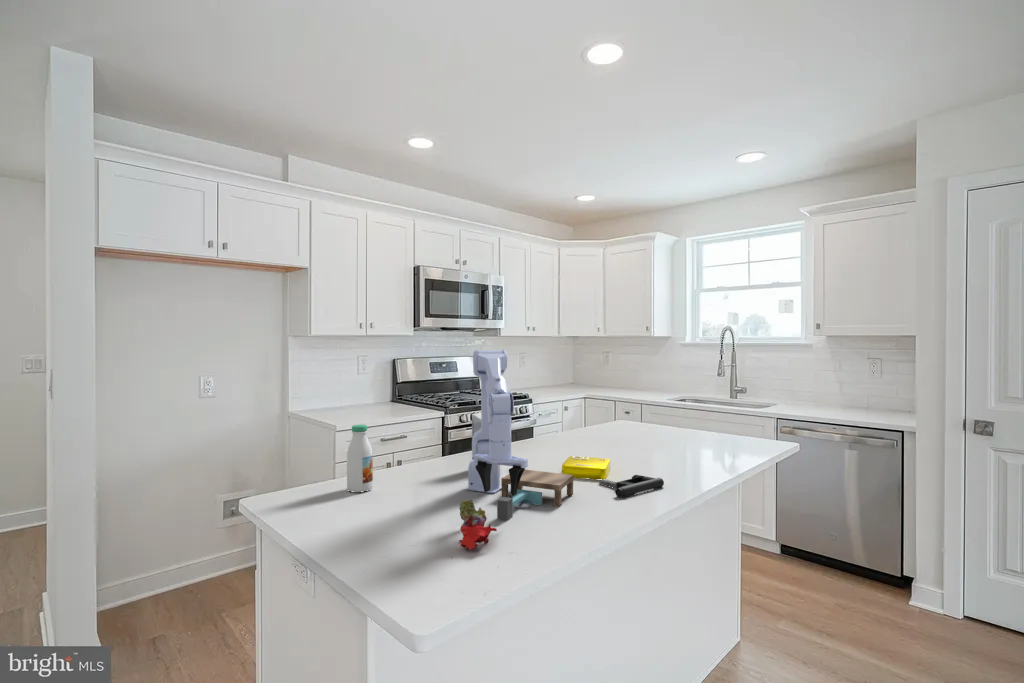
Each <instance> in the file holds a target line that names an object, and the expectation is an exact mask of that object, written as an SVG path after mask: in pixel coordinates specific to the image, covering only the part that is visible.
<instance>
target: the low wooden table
mask: <svg viewBox="0 0 1024 683" xmlns="http://www.w3.org/2000/svg"><path fill="white" fill-rule="evenodd" d="M500 478H501V479H500V483H501V484H500V485H502V489H501V497H507V498H509V485H511V481H510V474H509V473H508V474H506V475H505V476H503V477H500ZM524 487H526V488H536V489H543V490H549V491H554V507H557V506H560V507H561V506H562V490H563V489H564V488H565V487H566V496H567V495H568V496H567V497H573V496H574V478H573V475H569V474H562V473H558V472H551V471H541V470H540V471H539V470H532V469H531V470H530V469H525V470H524V472H523V474H522V476H521V479H520V482H519V485H518V489H521V490H524ZM572 495H573V496H572Z"/></svg>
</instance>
